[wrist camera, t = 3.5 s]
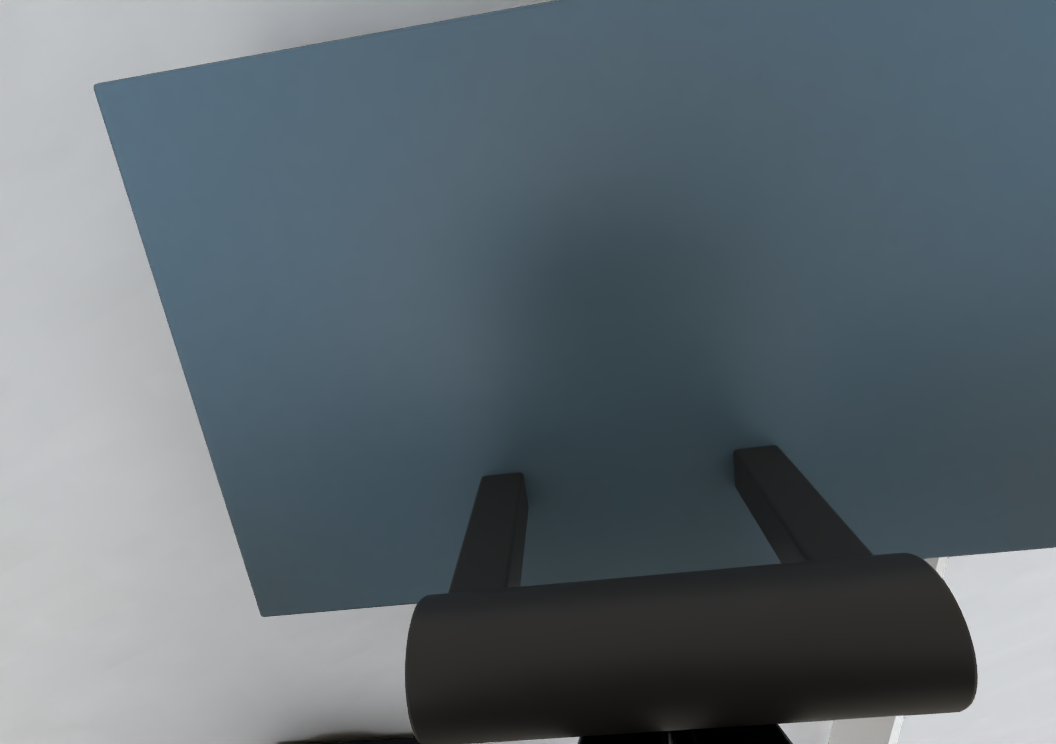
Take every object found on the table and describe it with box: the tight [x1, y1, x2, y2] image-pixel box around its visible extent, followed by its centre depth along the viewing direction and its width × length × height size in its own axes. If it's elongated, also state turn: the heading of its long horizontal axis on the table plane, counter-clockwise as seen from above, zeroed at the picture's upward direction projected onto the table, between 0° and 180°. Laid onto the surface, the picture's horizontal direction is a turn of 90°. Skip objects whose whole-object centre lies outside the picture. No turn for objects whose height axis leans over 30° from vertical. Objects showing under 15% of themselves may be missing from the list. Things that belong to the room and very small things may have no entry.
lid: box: [94, 0, 1056, 744], centre depth 7 cm, size 9×14×5 cm, turn 98°
